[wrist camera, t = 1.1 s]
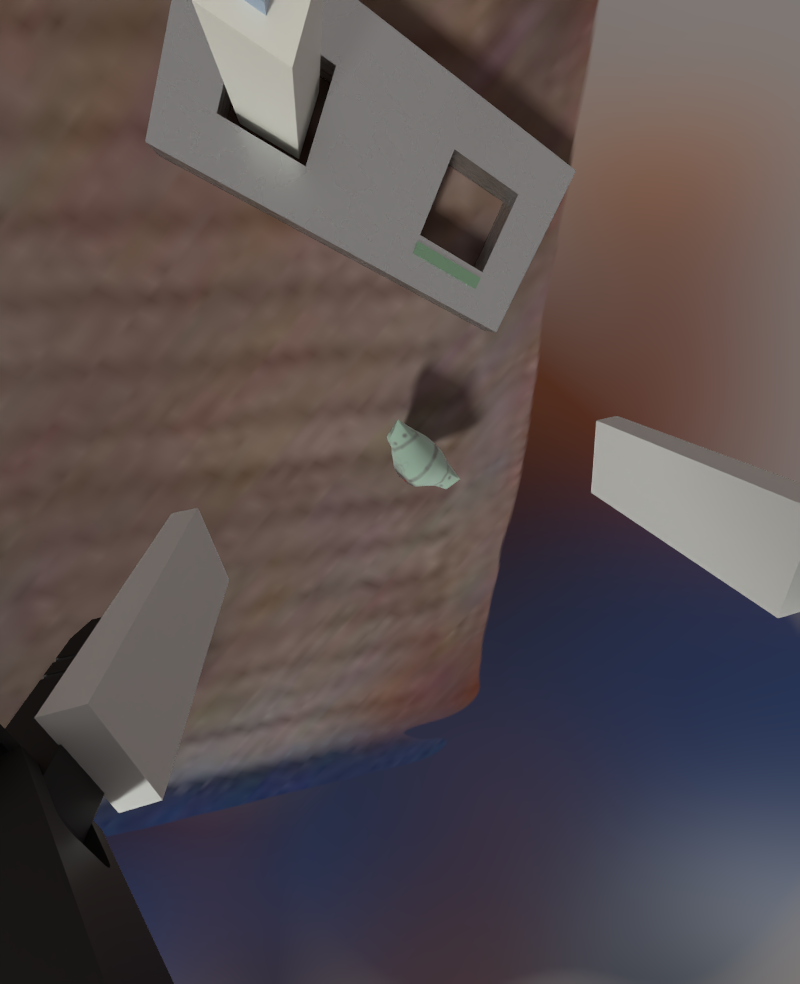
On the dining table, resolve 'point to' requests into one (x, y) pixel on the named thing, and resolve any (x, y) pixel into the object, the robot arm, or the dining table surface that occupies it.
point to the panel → (370, 158)
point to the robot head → (419, 458)
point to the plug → (268, 63)
